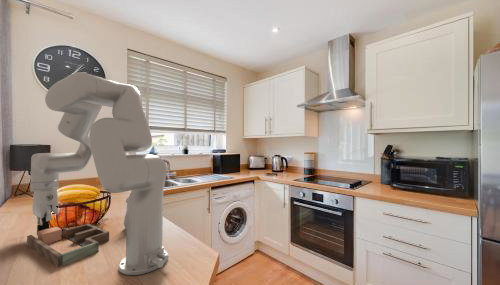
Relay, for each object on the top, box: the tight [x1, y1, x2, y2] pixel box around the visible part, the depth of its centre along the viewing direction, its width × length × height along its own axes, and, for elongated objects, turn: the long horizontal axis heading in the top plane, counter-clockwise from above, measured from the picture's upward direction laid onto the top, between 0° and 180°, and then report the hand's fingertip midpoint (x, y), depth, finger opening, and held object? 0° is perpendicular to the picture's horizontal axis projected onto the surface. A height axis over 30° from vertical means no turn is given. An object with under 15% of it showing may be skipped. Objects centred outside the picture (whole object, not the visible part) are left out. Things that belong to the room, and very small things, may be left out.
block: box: [37, 226, 62, 245], centre depth 73 cm, size 5×5×4 cm
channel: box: [26, 223, 110, 268], centre depth 71 cm, size 27×16×3 cm, turn 60°
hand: (43, 234), depth 76 cm, fingers closed
